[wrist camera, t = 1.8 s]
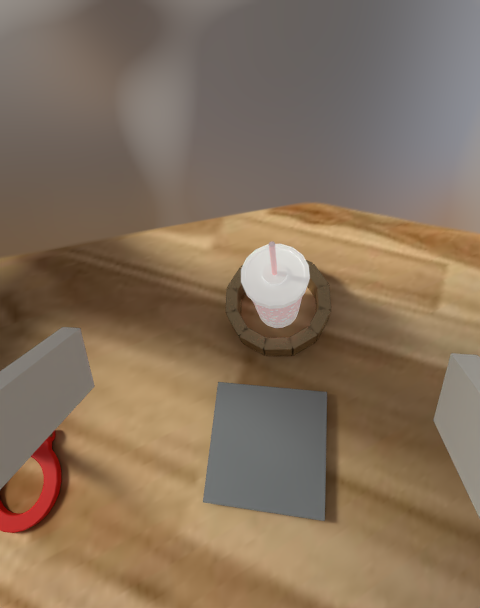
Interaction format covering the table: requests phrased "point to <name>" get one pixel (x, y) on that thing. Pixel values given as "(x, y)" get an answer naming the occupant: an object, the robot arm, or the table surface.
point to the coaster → (268, 450)
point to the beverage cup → (275, 282)
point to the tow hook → (47, 499)
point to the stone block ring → (280, 345)
